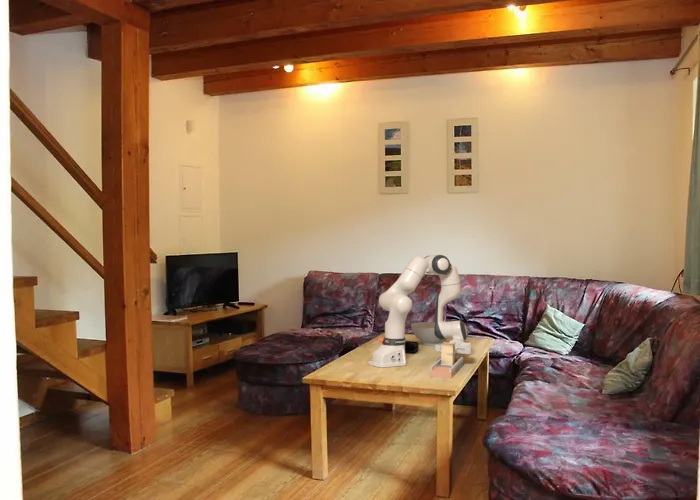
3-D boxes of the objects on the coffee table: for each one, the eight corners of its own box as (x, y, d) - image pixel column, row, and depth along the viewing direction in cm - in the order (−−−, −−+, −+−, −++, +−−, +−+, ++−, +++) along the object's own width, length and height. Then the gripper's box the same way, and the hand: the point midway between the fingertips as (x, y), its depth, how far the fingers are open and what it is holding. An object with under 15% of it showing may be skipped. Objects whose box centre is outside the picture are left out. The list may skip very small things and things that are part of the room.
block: (443, 362, 325) (443, 342, 324) (454, 363, 323) (455, 342, 322) (441, 364, 319) (441, 344, 319) (452, 365, 317) (452, 344, 317)
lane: (443, 363, 336) (443, 355, 336) (463, 365, 332) (463, 357, 332) (429, 376, 306) (429, 367, 306) (451, 378, 302) (451, 369, 302)
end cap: (418, 352, 367) (419, 340, 367) (415, 354, 361) (415, 342, 361) (403, 350, 371) (403, 339, 371) (399, 352, 365) (399, 341, 365)
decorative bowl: (409, 339, 408) (410, 321, 408) (449, 340, 407) (450, 322, 407) (412, 347, 381) (412, 328, 381) (455, 348, 380) (455, 328, 380)
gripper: (437, 340, 343) (431, 344, 330) (473, 342, 336) (469, 347, 323) (437, 351, 343) (431, 355, 331) (473, 354, 336) (469, 358, 323)
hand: (450, 351), depth 327 cm, fingers closed
